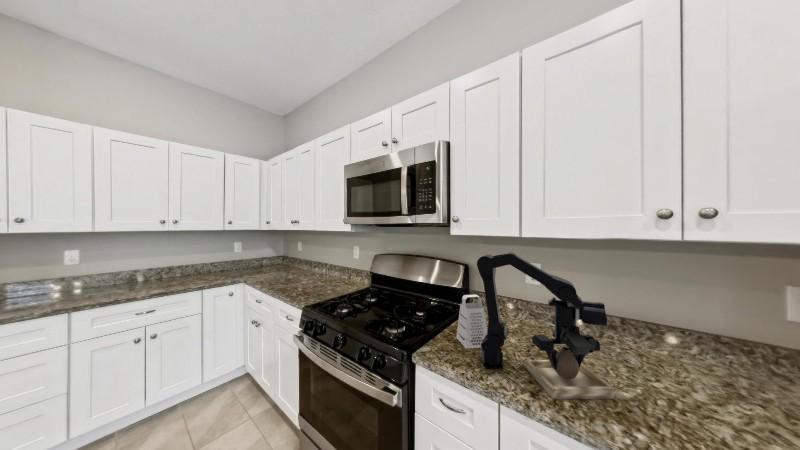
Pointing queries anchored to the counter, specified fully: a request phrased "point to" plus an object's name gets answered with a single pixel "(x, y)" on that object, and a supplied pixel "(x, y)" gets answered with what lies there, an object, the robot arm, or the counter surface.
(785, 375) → the counter surface
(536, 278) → the robot arm
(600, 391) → the tray
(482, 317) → the grater
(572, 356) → the vase
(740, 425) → the counter surface
